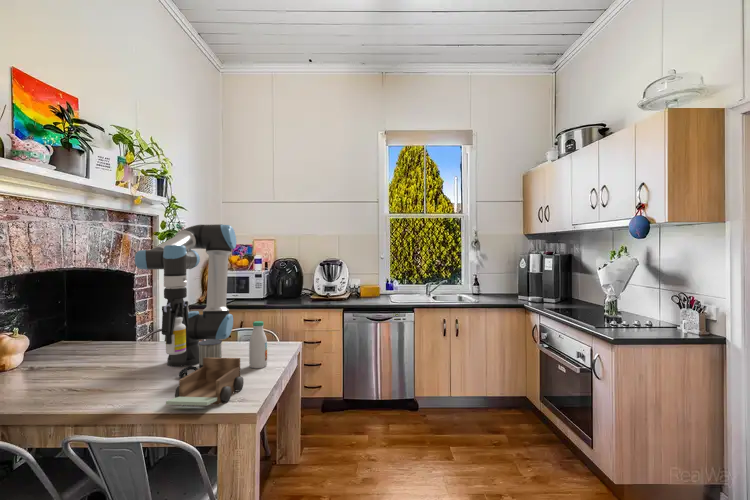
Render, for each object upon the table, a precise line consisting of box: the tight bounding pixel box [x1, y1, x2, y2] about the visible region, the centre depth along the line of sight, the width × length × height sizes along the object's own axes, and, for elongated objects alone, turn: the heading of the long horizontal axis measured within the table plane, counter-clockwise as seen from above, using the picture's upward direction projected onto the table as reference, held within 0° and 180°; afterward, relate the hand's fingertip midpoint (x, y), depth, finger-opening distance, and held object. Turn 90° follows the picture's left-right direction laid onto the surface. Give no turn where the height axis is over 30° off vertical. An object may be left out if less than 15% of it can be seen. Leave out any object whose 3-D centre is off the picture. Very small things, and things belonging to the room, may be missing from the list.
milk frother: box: [178, 339, 223, 379], centre depth 171 cm, size 14×16×15 cm
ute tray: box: [174, 357, 245, 405], centre depth 150 cm, size 18×18×11 cm
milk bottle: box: [248, 320, 268, 369], centre depth 187 cm, size 8×8×20 cm
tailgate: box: [165, 397, 217, 407], centre depth 136 cm, size 14×2×7 cm
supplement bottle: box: [166, 317, 186, 356], centre depth 152 cm, size 7×7×13 cm
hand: (176, 349), depth 153 cm, fingers closed on supplement bottle, 7 cm apart
